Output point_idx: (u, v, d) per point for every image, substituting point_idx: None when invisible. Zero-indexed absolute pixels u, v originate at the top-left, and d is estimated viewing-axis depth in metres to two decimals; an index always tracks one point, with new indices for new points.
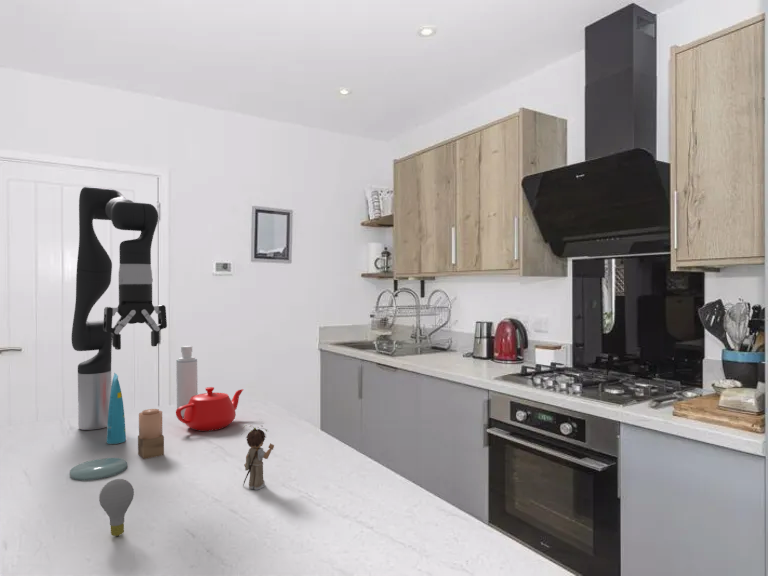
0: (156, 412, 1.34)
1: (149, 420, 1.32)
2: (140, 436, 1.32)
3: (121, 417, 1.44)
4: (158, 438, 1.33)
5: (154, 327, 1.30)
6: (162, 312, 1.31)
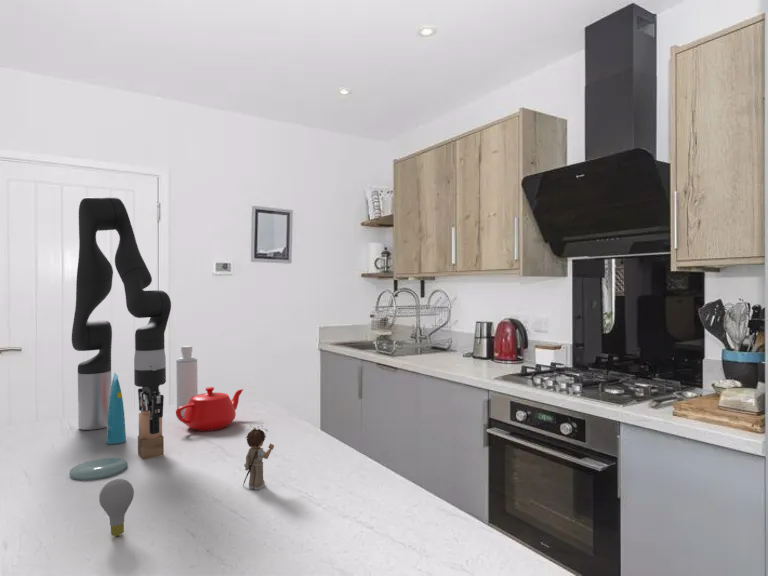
0: (156, 412, 1.34)
1: None
2: (140, 436, 1.32)
3: (121, 417, 1.44)
4: (158, 438, 1.33)
5: None
6: None
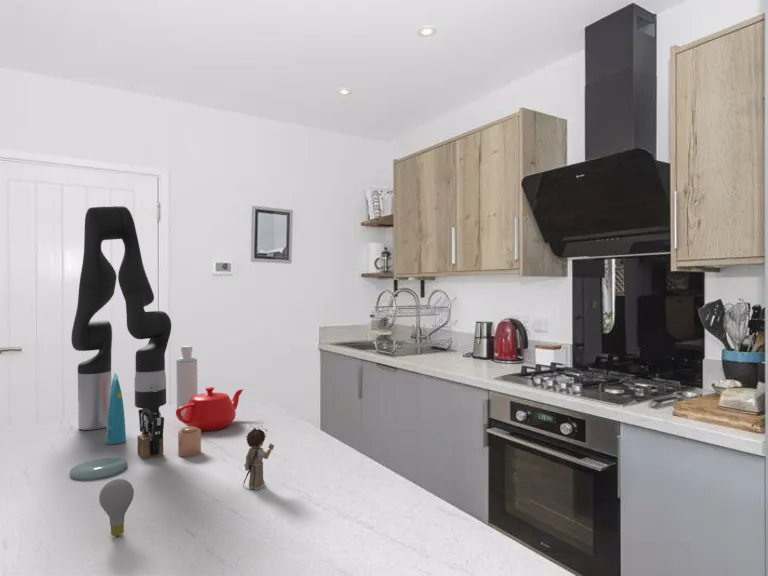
0: (195, 430, 1.35)
1: (189, 438, 1.33)
2: (180, 454, 1.33)
3: (121, 417, 1.44)
4: None
5: None
6: None
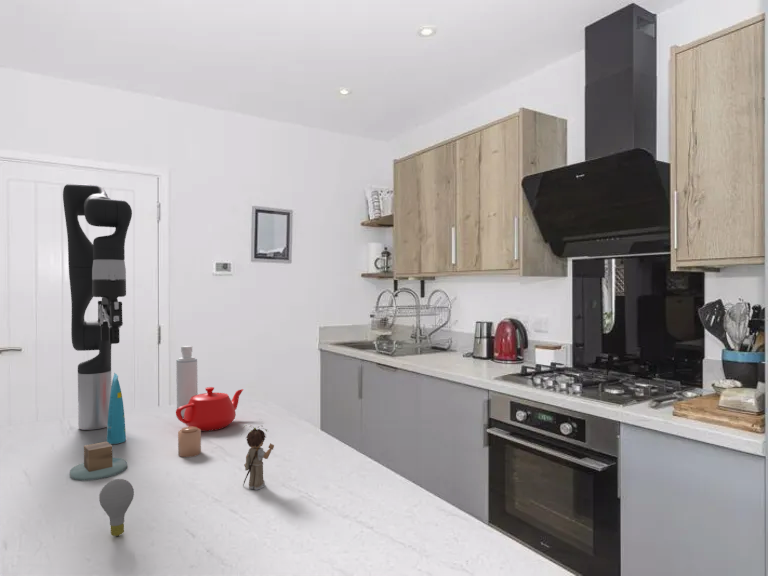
0: (195, 430, 1.35)
1: (189, 438, 1.33)
2: (180, 454, 1.33)
3: (121, 417, 1.44)
4: (106, 448, 1.22)
5: None
6: None
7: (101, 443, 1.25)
